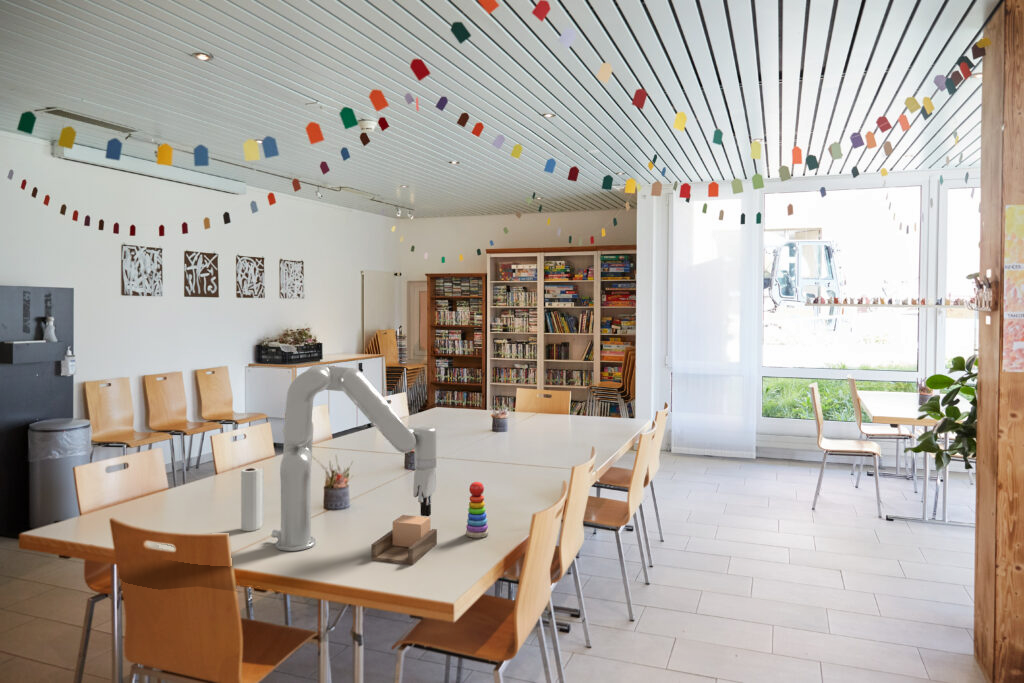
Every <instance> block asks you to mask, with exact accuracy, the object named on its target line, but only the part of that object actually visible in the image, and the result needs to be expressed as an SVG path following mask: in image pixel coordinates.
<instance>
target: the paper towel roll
mask: <svg viewBox="0 0 1024 683" xmlns="http://www.w3.org/2000/svg"><path fill="white" fill-rule="evenodd" d="M264 470H265V468H264V467H261V468H257V467H251V468H250V467H249V468H248V467H247V468H243V469H241V471H240V478H241V479H240V480H241V482H240V484H241V485H240V486H241V488H240V495H241V496H240V498H241V499H240V502H241V503H240V504H241V506H240V507H241V508H240V509H241V510H240V512H241V513H240V514H241V515H240V516H241V518H240V520H241V521H240V522H241V523H240V528H241V531H243V532H253V531H257V530H259V529H261V528H262V527H263V526H264V524H265V523H264V522H265V521H264V520H265V519H264V518H265V516H264V508H265V507H264V501H265V500H264V499H265V498H264V497H265V496H264V493H265V492H264V491H265V488H264V484H265V482H264V472H265V471H264Z"/></svg>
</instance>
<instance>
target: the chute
mask: <svg viewBox="0 0 1024 683" xmlns="http://www.w3.org/2000/svg"><path fill="white" fill-rule="evenodd" d="M392 541H393V529H391V530H390V531H388V532H387V533H386V534H384V535H382V536H381V537H380V538H379V539H377V540H375V541H374V542H372V543H371V554H370V555H371V561H377V562H383V563H384V562H385V563H394V564H401V565H410V566H414V565H415V564H417V562H418V561H420V560H421V559H422V558H423V557H424V556H425V555H426V554H428V552H429V551H431V550H432V549H433V548H434V547H435V546H437V544H438V529H436V528H432V529H430V531H429V532H428V533H427V534H426V535H424V536H423V537H422V538H421V539H419V540H418V541H417V542H416V543H414V544H413V545H412V546H411V547H404V546H395V545H392Z"/></svg>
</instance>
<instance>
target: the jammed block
mask: <svg viewBox="0 0 1024 683" xmlns="http://www.w3.org/2000/svg"><path fill="white" fill-rule="evenodd" d="M392 530H393V541H392V545H395V546H404V547H411V546H412V545H413V544H414V543H416V542H417V541H418V540H419V539H421V538H422V537H423V536H424V535H426V534H427V533H428V532H429V531H431V517H430V516H416V515H408V514H402V515H400V516H398V517H397V518H396V519H395V520H393V521H392Z"/></svg>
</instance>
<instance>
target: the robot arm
mask: <svg viewBox="0 0 1024 683" xmlns="http://www.w3.org/2000/svg"><path fill="white" fill-rule="evenodd" d="M323 391H336V392H343V393H344V394H345V395H346V396H347V397H348V398H349V399H350V401H352V402H353V404H354V405H355V406H356V408H358V409H359V411H360V412H361V413H362V414H363V415H364V416H365V417H366V418H367V420H368V421H369V422H370V423H371V424H372V425H373V426H374V427H375V428H376V429H377V430H378V432H380V433H381V435H383V437H384V438H385V439H386V440H387V441H388V442H389V444H391V446H392V447H393V448H394V449H395V450H396V451H397V452H398V453H402V454H407V453H410V452H412V451H413V450H414V475H413V485H412V486H413V487H412V488H413V494H412V496H413V497H414V498H417V501H418V502H417V503H419V505H420V517H430V516H431V515H432V497H433V495H434V493H435V492H436V490H437V477H436V476H437V475H436V473H437V472H436V468H437V430H436V429H435V427H432V426H421V427H420V426H419V427H411V426H406V425H405V423H404V422H403V421H402V420H401V419H400V418H399V417H398V415H397V414H396V413H395V412H394V410H393V408H392V407H391V405H390V404H389V403H388V401H387V400H386V399H385V398H384V397H383V395H382V394H381V393H380V392H379V391H378V390H377V389H376V387H374V386H373V384H372V383H371V382H370V381H369V380H368V379H367V377H366V376H365V375H364V374H363V373H362V371H361V370H360V369H358V368H354V367H343V366H334V365H326V364H325V365H324V364H314V365H312V366H310V367H309V368H308V369H307V370H305V371H304V372H302V373H300V374H299V375H297V376H296V377H295V378H294V379H293V381H292V382H291V383H290V384H289V387H288V389H287V394H286V400H285V402H286V403H285V410H284V425H283V429H282V432H283V433H282V435H283V452H282V453H283V454H282V458H281V461H280V467H279V475H280V476H279V477H280V529H273V530H272V532H271V535H270V536H271V537H270V538H277V541H276V542H275V548H276V549H277V550H281V551H283V552H284V551H285V552H286V551H287V552H297V551H303V550H304V551H305V550H307V549H309V548H312V547H313V546H315V545H316V542H317V540H316V538H315V537H313V536H312V531H311V530H312V523H311V522H312V463H313V462H312V459H313V445H314V423H313V409H314V408H313V407H314V399H315V397H316V395H317V394H318V393H320V392H323Z"/></svg>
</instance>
